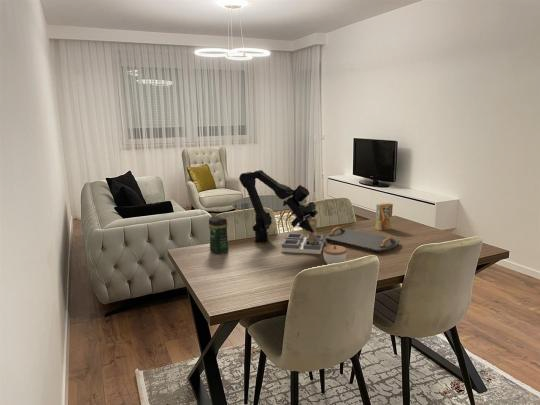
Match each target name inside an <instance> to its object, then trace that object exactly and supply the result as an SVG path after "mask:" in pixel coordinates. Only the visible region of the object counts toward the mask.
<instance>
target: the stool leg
mask: <svg viewBox="0 0 540 405" xmlns="http://www.w3.org/2000/svg"><path fill="white" fill-rule="evenodd" d="M317 222H318V218H317V217H315V218H309V225H310V226H311V228H312V229H313V231H314V232H313V233H311V232H309V231H308V234H309V245H316V240H317V235H318V232H317V231H318V230H317V229H318V227H317V226H318V224H317Z"/></svg>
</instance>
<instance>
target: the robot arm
mask: <svg viewBox="0 0 540 405" xmlns="http://www.w3.org/2000/svg"><path fill="white" fill-rule="evenodd" d="M238 179H239V183H240V184H241V185H242V187H244V188H245V190H246V192H247V194H248V196H249V199H250V202H251V205H252V207H253V210H254V213H255V219H254V220H255V224H253V226H252V231H253V232H254V235H255V237H254V238H255V239H254V242H255V243H267V242H268V241H269V231H268V229H270V226H271V225H272V222H273V221H272V220H273V218H272V217H271V214H270V212H266V211H265V209H264V206H263V204H262V201H261V198H260V195H259V194H258V191H257V188H256V180H259V181H260V182H262V183H263V184H264V185H266V186H267V187H268V188H270V189H272V191H273V192H274V194H275V195H276V196H277V197H278V198H279V199H280V200H283V202H282V203H283V204H282V206H283V207H287V206H288V208H289V210H291V214H292V215H294V216H295V218H294V219H293V220H292V221H291V226H292V227H293V228H295V227H298V228H301V229H303V230H306V231H308V233H309V232H311V233H313V232H314V231H313V229H312V228H311V226H310V225H309V218H316V216H317V215H318V214H319V212H318V210H316V206H317V205H316V204H315V202H313V201H310V202H309V203H308V204H307V205H306V206H305V204H301V203H302V202H303V201H304V200H306V198H308V197H309V195H310V191H309V189H308V188H306V187H305V186H302V184H299V185H298V186H297V188H296V189H292V188H291V187H290V186H287V185H286V184H282V183H279V182H278V181H277V180H275V179H274V178H272V177H271V176H270V175H269V174H267V173H265V172H264V170H261V169H259V170H255V171H253V172H252V171H247V172H242V173H240V175H239V178H238ZM318 230H319V229H318V228H317V231H318Z"/></svg>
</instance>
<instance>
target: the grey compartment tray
mask: <svg viewBox="0 0 540 405" xmlns="http://www.w3.org/2000/svg"><path fill="white" fill-rule="evenodd" d="M324 243H325V237H324V234H317V240H316V245H309V233H308V234H307V236H304V233H293V232H287V235H286V236H285V238H284V239H283V241H282V243H281V247H280V252H281V253H297V254H313V255H314V254H316V255H321V253H322V251H323V248H324Z"/></svg>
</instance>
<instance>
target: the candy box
mask: <svg viewBox="0 0 540 405" xmlns="http://www.w3.org/2000/svg"><path fill="white" fill-rule="evenodd" d="M393 206H394V205H393V203H391V202H383V203H376V207H375V208H376V209H375V210H376V211H375V229H376V230H378V231H383V230H384V231H385V230H391V229H392V223H393V221H392V220H393V209H394V208H393Z"/></svg>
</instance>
